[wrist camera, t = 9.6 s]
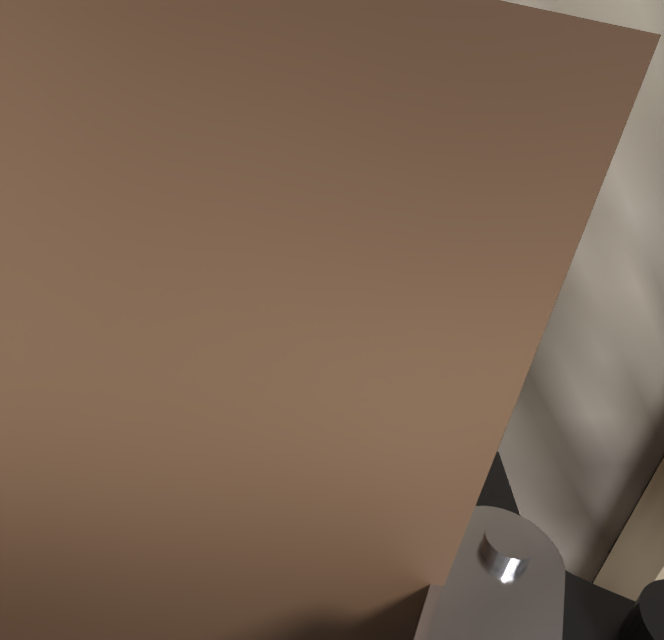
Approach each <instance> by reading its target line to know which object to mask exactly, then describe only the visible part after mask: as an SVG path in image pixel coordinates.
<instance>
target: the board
mask: <svg viewBox="0 0 664 640" xmlns="http://www.w3.org/2000/svg"><path fill="white" fill-rule="evenodd" d="M662 579H664V458H663V459H662V461H661V463H660V465H659V466H658V468H657V470H656V472H655V474H654V475H653V477H652V479H651V481H650V483H649V484H648V486H647V488H646V490H645V491H644V493H643V495H642V497H641V499H640V500H639V502H638V504H637V506H636V507H635V509H634V511H633V513H632V515H631V516H630V518H629V520H628V522H627V524H626V525H625V527H624V529H623V531H622V532H621V534H620V536H619V538H618V540H617V541H616V543H615V545H614V547H613V548H612V550H611V552H610V554H609V556H608V557H607V559H606V561H605V563H604V565H603V566H602V568H601V570H600V572H599V573H598V575H597V577H596V579H595V581H594V582H593V584H595V585H597V586H599V587H602V588H604V589H607V590H609V591H611V592H614V593H616V594H619V595H621V596H623V597H626V598H628V599H631V600H633V601H635V602H636V600H637V598H638V597H639V595H640V594H641V592H642V590H643V589H644V587H645V586H647V585H648V584H649V583H651V582H653V581H656V580H662Z"/></svg>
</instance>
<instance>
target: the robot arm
mask: <svg viewBox="0 0 664 640" xmlns="http://www.w3.org/2000/svg"><path fill="white" fill-rule="evenodd" d="M411 640H664V579H662V580H656V581H653V582H651V583H649V584H648V585H647V586H645V587H644V589H643V590H642V592H641V594H640V595H639V597H638V598H637V600H636V602H635V601H633V600H631V599H628V598H626V597H623V596H621V595H619V594H616V593H614V592H611V591H609V590H607V589H604V588H602V587H599V586H597V585H595V584H592V583H590V582H587V581H585V580H583V579H581V578H579V577H577V576H575V575H573V574H571V573H569V572H568V571H566V570H565V566H564V563H563V559H562V557H561V555H560V553H559V551H558V549H557V548H556V546H555V545H554V543H553V542H552V541H551V540H550V538H549V537H548V536H547V535H546V534H545V533H544V532H543V531H542V530H541V529H539V528H538V527H537V526H536V525H534V524H533V523H531V522H530V521H528V520H527V519H525V518H523V517H522V516H520V514H519V511H518V508H517V505H516V502H515V499H514V496H513V493H512V490H511V487H510V485H509V482H508V479H507V476H506V473H505V470H504V467H503V464H502V461H501V458H500V455H499V452H496V455H495V457H494V460H493V462H492V465H491V467H490V470H489V473H488V475H487V478H486V480H485V483H484V485H483V488H482V490H481V493H480V495H479V498H478V500H477V503H476V506H475V508H474V511H473V513H472V516H471V518H470V521H469V523H468V526H467V528H466V531H465V533H464V536H463V539H462V541H461V544H460V546H459V549H458V551H457V554H456V556H455V559H454V561H453V564H452V566H451V569H450V571H449V574H448V577H447V579H446V582H445V584H444V586H440V585H434V584H430V587H429V589H428V592H427V595H426V597H425V600H424V603H423V605H422V608H421V611H420V613H419V616H418V619H417V622H416V626H415V629H414V632H413V635H412V639H411Z"/></svg>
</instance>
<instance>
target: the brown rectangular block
mask: <svg viewBox="0 0 664 640" xmlns="http://www.w3.org/2000/svg"><path fill="white" fill-rule="evenodd" d="M660 36H661V35H659V34H654V33H650V32H645V31H640V30H636V29H631V28H626V27H622V26H617V25H612V24H608V23H603V22H598V21H594V20H589V19H584V18H580V17H575V16H570V15H566V14H561V13H556V12H552V11H547V10H542V9H538V8H533V7H528V6H523V5H519V4H514V3H509V2H505V1H500V0H0V640H411V639H412V635H413V632H414V629H415V626H416V622H417V619H418V616H419V613H420V611H421V608H422V605H423V603H424V600H425V597H426V595H427V592H428V589H429V587H430V584H434V585H440V586H444V584H445V582H446V579H447V577H448V574H449V571H450V569H451V566H452V564H453V561H454V559H455V556H456V554H457V551H458V549H459V546H460V544H461V541H462V539H463V536H464V533H465V531H466V528H467V526H468V523H469V521H470V518H471V516H472V513H473V511H474V508H475V506H476V503H477V500H478V498H479V495H480V493H481V490H482V488H483V485H484V483H485V480H486V478H487V475H488V473H489V470H490V467H491V465H492V462H493V460H494V457H495V455H496V452H497V450H498V447H499V445H500V442H501V440H502V437H503V434H504V432H505V429H506V427H507V424H508V422H509V419H510V417H511V414H512V412H513V409H514V407H515V404H516V401H517V399H518V396H519V394H520V391H521V389H522V386H523V384H524V381H525V379H526V376H527V374H528V371H529V368H530V366H531V363H532V361H533V358H534V356H535V353H536V351H537V348H538V346H539V343H540V341H541V338H542V336H543V333H544V330H545V328H546V325H547V323H548V320H549V318H550V315H551V313H552V310H553V308H554V305H555V303H556V300H557V297H558V295H559V292H560V290H561V287H562V285H563V282H564V280H565V277H566V275H567V272H568V270H569V267H570V264H571V262H572V259H573V257H574V254H575V252H576V249H577V247H578V244H579V242H580V239H581V237H582V234H583V231H584V229H585V226H586V224H587V221H588V219H589V216H590V214H591V211H592V209H593V206H594V204H595V201H596V198H597V196H598V193H599V191H600V188H601V186H602V183H603V181H604V178H605V176H606V173H607V171H608V168H609V165H610V163H611V160H612V158H613V155H614V153H615V150H616V148H617V145H618V143H619V140H620V138H621V135H622V133H623V130H624V127H625V125H626V122H627V120H628V117H629V115H630V112H631V110H632V107H633V105H634V102H635V100H636V97H637V94H638V92H639V89H640V87H641V84H642V82H643V79H644V77H645V74H646V72H647V69H648V67H649V64H650V61H651V59H652V56H653V54H654V51H655V49H656V46H657V44H658V41H659V39H660Z"/></svg>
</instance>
